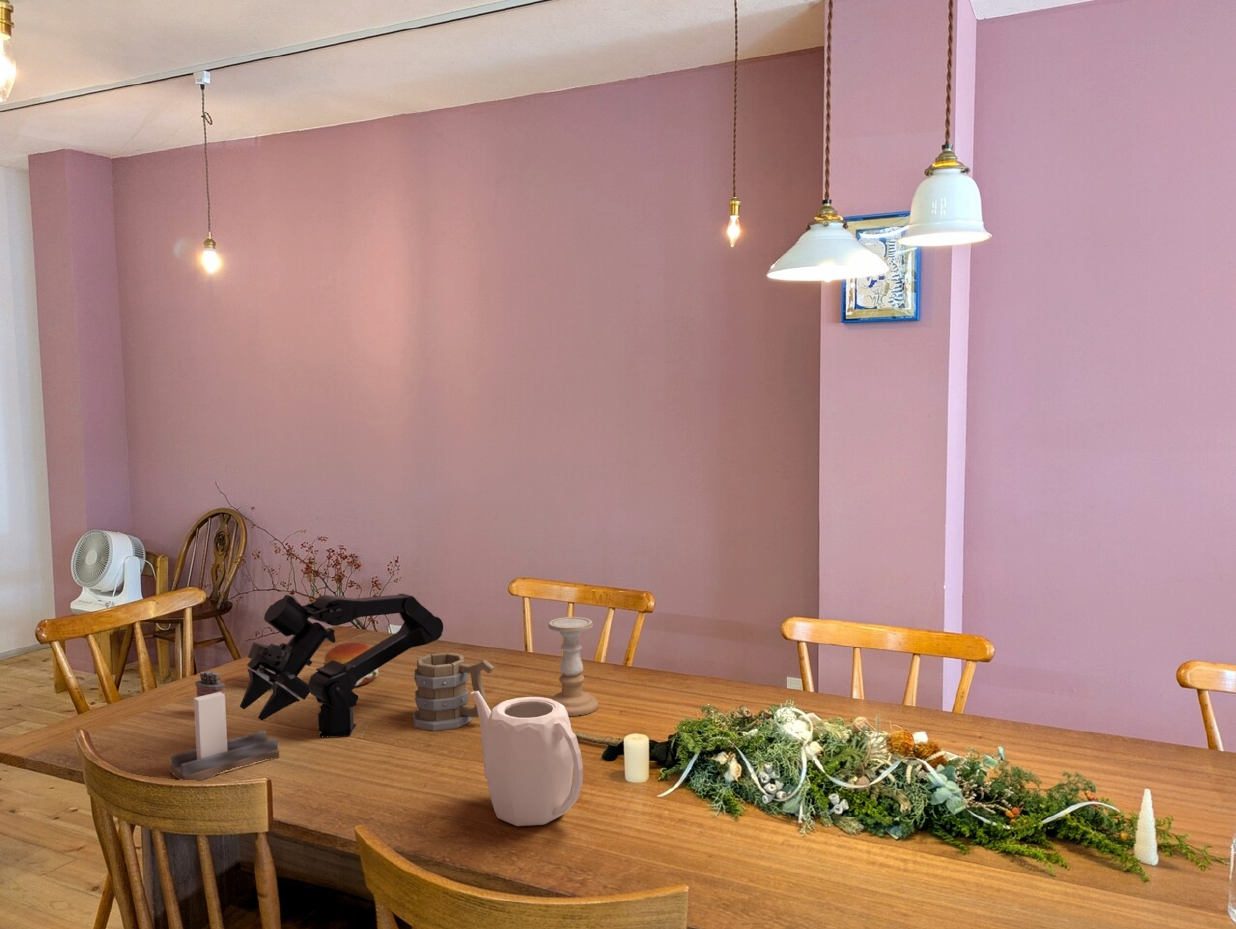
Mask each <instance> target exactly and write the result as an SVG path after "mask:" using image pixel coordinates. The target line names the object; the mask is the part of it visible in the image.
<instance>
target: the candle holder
mask: <svg viewBox="0 0 1236 929" xmlns="http://www.w3.org/2000/svg"><path fill="white" fill-rule="evenodd" d="M593 626H594V621H593V620H592V619H590V618H587V617H581V616H567V617H566V616H565V617H559V618H554V619H551V620H549V621H548V624H547V627H548V629H550V630H551V631H554V632H558V633H559V635H560V636H562V638H563V642H562V644H560V646H559V649H561V650H562V656H561V661H560V663H559V671H560V672H561V673H562V674H561V675H560V676H559V677H558V682H560V684H561V691H560V692H557V693H555V694H554V695H553V696H551V697H549V699H552V700H554V701H557V702H559V703H560V704H562V705H564V707H565V709H566V711H567V713H568V717H579V715H581V716H585V714H586V715H588V714H589V715H590V714H591V713H594V712H595V711H597V710H598V708H599V705H600V704H599V701H598V699H597V697H595V696H594V695H591V694H590V693H588V692H586V691H583V687H582V683H583V682H584V681H585V677H584V675H583V674H582V673H581V672H583V670H584V664H583V662H582V657H581V654H580V652H581V651H580V650H582V648H583V646H582V644H581V643H580V642H579V638H580V636H581V635H582V633H583V632H585V631H588V630H590V629H592V628H593Z"/></svg>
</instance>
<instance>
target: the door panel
mask: <svg viewBox="0 0 1236 929" xmlns="http://www.w3.org/2000/svg"><path fill="white" fill-rule="evenodd" d="M193 708H194V709H193V710H194V712H193V713H194V728H195V731H194V732H195V747H196V748H195V749H196V751H197V759H201V758H205V757H208V756H212V755H215V754H219V753H223V752H226V751H228V749H227V741H228V736H227V735H228V731H227V712H226V694H225V693H224V694H223V693H221V692H217V693H213V694H209V695H204V696H200V697H197V696H196V697H193Z"/></svg>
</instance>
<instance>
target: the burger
mask: <svg viewBox="0 0 1236 929" xmlns="http://www.w3.org/2000/svg"><path fill="white" fill-rule="evenodd" d="M370 648H372V646H369V645H367V644H365V643H361V642H355V641H354V642H345V643H341V644H338V645H336V646H334V647H332V648H330V649H329V651H327V652H326V654H325V656H324V660H323V661H324V662H323V666H325V665H326V664H327V663H328V662H330V661H332V660H334V661H337V662H339V663H342V664H344V663H347V662H348V661H350V660H352V659H353V658H355V657H357V656H358V655H360V654H362V653H363V652H365V651H367V650H368V649H370ZM377 676H379V668H377V669H376V670H374V671H373V672H371V673H369V674H368V675H366V676H365V677H363V678H361V679H360V680H359V681H358V682H357V683H356V685H355V686H354V687H357V686H362V685H365V684H368V683H370V682H371V681H373V680H374V678H375V677H377Z"/></svg>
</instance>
